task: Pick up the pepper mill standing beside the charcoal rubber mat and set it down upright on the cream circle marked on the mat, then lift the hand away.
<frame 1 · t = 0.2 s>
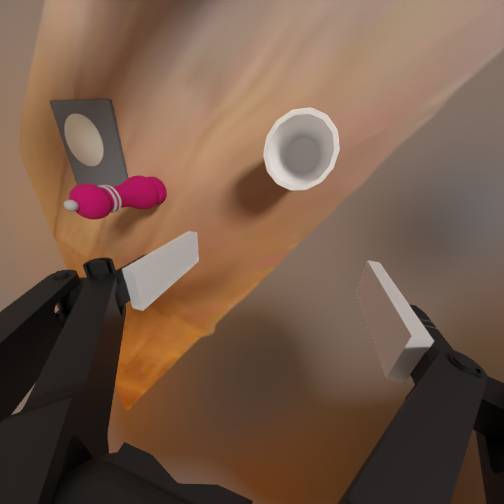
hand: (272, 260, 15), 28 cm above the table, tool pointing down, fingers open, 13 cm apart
pepper mill: (156, 190, 47), on the table
foam cup: (302, 155, 36), on the table
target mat: (94, 151, 47), on the table
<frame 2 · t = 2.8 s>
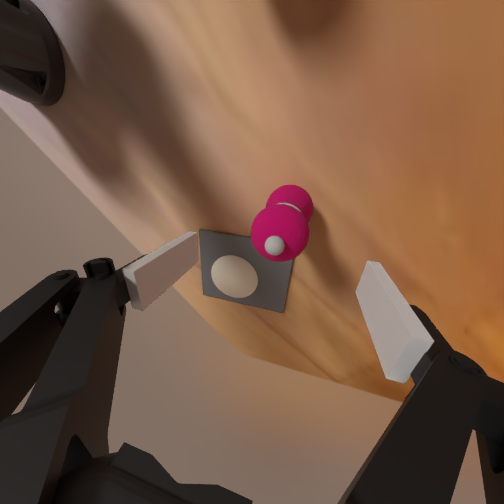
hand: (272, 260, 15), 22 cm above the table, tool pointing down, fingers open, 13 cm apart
pepper mill: (291, 203, 34), on the table
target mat: (243, 272, 43), on the table
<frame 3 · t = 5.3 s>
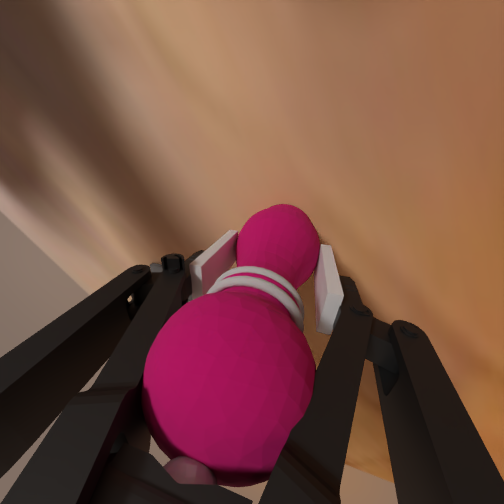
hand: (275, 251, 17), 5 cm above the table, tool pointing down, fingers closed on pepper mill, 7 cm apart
pepper mill: (283, 232, 21), on the table, touching gripper
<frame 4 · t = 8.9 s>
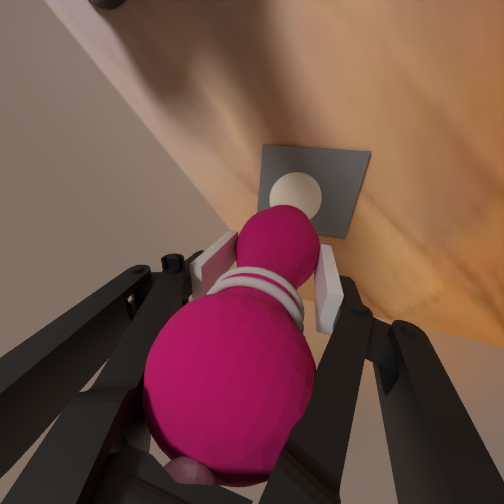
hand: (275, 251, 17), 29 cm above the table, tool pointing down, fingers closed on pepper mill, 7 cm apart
pepper mill: (283, 232, 21), point 24 cm above the table, touching gripper
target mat: (305, 193, 41), on the table
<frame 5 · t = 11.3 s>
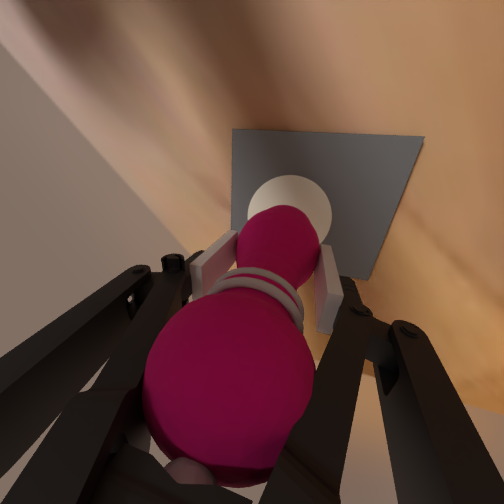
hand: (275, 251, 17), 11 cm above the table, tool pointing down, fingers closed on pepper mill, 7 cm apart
pepper mill: (283, 232, 21), point 6 cm above the table, touching gripper
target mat: (304, 208, 25), on the table
when the fingers open (7 cm above the table, at t = 12.9 s): pepper mill drops 2 cm, resting on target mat.
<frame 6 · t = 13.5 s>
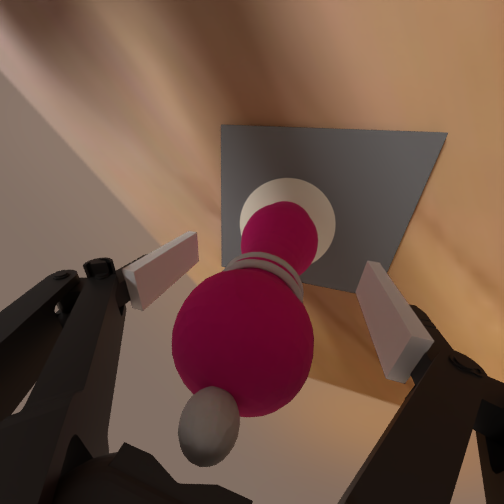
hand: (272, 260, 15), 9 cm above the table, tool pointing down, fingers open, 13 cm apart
pepper mill: (284, 227, 23), point 1 cm above the table, touching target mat
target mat: (304, 216, 22), on the table
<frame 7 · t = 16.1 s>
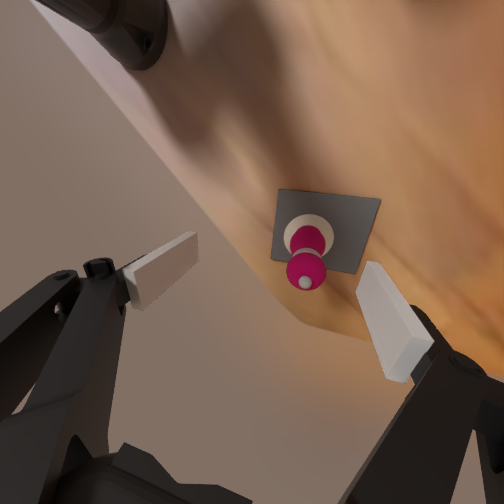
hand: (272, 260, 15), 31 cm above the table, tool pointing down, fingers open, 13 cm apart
pepper mill: (307, 237, 44), point 1 cm above the table, touching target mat
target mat: (318, 232, 44), on the table
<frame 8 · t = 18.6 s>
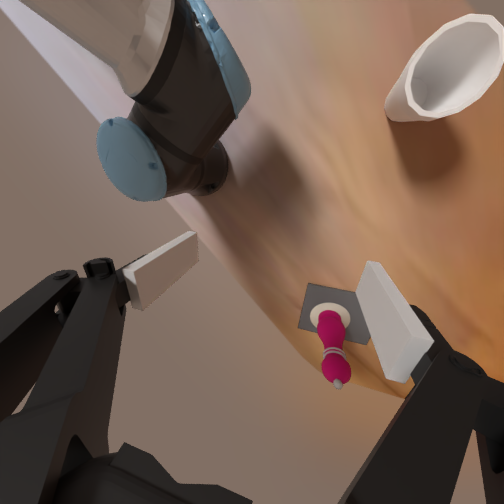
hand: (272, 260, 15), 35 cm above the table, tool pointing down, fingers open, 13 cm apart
pepper mill: (329, 317, 56), point 1 cm above the table, touching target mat
foam cup: (404, 101, 34), on the table
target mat: (337, 314, 56), on the table
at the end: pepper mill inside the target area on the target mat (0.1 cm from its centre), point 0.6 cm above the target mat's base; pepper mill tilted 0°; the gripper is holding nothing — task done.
